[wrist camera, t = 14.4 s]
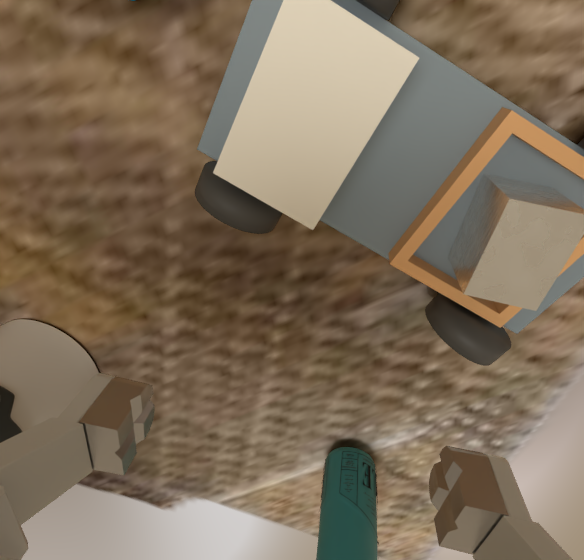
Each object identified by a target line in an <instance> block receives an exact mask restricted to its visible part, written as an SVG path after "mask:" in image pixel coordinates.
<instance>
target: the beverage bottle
mask: <svg viewBox="0 0 584 560" xmlns="http://www.w3.org/2000/svg"><path fill="white" fill-rule="evenodd" d="M325 460H326V462H325V463H324V464H325V465H324V466H325V468H324V469H325V471H324V472H323V474H324V475H323V476H324V478H323V480H322V481H323V482H322V484H323V485H322V486H323V488H322V490H321V491H322V494H321V496H322V497H321V498H322V499H321V500H322V502H321V507H320V509H321V512H320V527H319V537H318V547H317V558H316V560H377V538H378V537H377V517H378V516H377V514H376V496H377V487H376V477H377V475H376V473H377V471H376V473H375V470H376V469H375V464H374V462H373V459H372V458H371V456H370V455H368V454H367V453H366V452H364V451H362V450H360V449H357V448H351V447H341V448H337V449H335V450H333V451H331V452H330V453H329V454H328V456H327V458H326V459H325ZM324 469H323V470H324ZM377 507H378V506H377ZM378 545H379V542H378Z"/></svg>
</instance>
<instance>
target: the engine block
mask: <svg viewBox="0 0 584 560" xmlns="http://www.w3.org/2000/svg"><path fill="white" fill-rule="evenodd" d="M583 235H584V209H583V208H581V207H580V206H578V205H577V204H576V203H574V202H573V201H571V200H570V199H568V198H567V197H565V196H564V195H562V194H561V193H559V192H558V191H557V190H555V189H554V188H551V187H546V186H541V185H537V184H532V183H527V182H522V181H517V180H513V179H508V178H503V177H498V176H494V175H489V174H483V176H482V178H481V181H480V183H479V185H478V188H477V190H476V192H475V195H474V197H473V199H472V202H471V204H470V206H469V209H468V211H467V213H466V216H465V218H464V220H463V223H462V225H461V227H460V229H459V232H458V234H457V236H456V239H455V241H454V243H453V246H452V248H451V250H450V253H449V255H448V258H449V260H450V263H451V265H452V268H453V270H454V273H455V275H456V277H457V280H458V282H459V285H460V287H461V290H462V292H463V294H464V295H469V296H473V297H477V298H482V299H486V300H490V301H495V302H499V303H503V304H508V305H512V306H516V307H521V308H525V309H530V310H534V311H536V310H537V309H538V307H539V306H540V304H541V302H542V301H543V299H544V298H545V296H546V294H547V293H548V291H549V290H550V288H551V286H552V285H553V283H554V282H555V280H556V278H557V277H558V275H559V273H560V272H561V270H562V269H563V267H564V265H565V264H566V262H567V261H568V259H569V257H570V256H571V254H572V253H573V251H574V249H575V248H576V246H577V245H578V243H579V241H580V240H581V238H582V237H583Z"/></svg>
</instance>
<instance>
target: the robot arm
mask: <svg viewBox="0 0 584 560" xmlns="http://www.w3.org/2000/svg"><path fill="white" fill-rule="evenodd" d="M152 395H153V387H152V385H150V384H146V383H142V382H137V381H133V380H129V379H125V378H121V377H116V376H111V375H107V374H103V373H99V372H98V370H97V368H96V366H95V364H94V362H93V360H92V359H91V357H90V356H89V355H88V353H87V352H86V351H85V350H84V349H83V348H82V347H81V346H80V345H79V344H78V343H77V342H76V341H74V340H73V339H72V338H71V337H69V336H68V335H66V334H65V333H63V332H62V331H60V330H58V329H56V328H54V327H52V326H50V325H47V324H44V323H41V322H38V321H34V320H26V319H19V320H13V321H9V322H7V323H5V324H3V325H1V326H0V560H21V558H22V557H23V555H24V554H25V552H26V551H27V549H28V542H27V539H26V537H25V535H24V533H23V530H22V528H21V526H20V525H21V524H23V523H24V522H26V521H27V520H28V519H30V518H31V517H32V516H34V515H35V514H36V513H37V512H39V511H40V510H42V509H43V508H44V507H46V506H47V505H48V504H50V503H51V502H52V501H54V500H55V499H56V498H58V497H59V496H60V495H62V494H63V493H64V492H66V491H67V490H68V489H70V488H71V487H72V486H74V485H75V484H77V483H78V482H79V481H81V480H82V479H83V478H85V477H86V476H87V475H89V474H90V473H91V472H92V471H93V470H98V471H104V472H109V473H114V474H119V475H124V474H125V473H126V471H127V469H128V467H129V466H130V464H131V462H132V460H133V459H134V457H135V455H136V453H137V452H136V444H137V443H139V442H140V441H142V440H144V439H145V437H146V435H147V434H148V432H149V430H150V427H151V424H152V421H153V418H154V404H153V403H152V402H151V401H150V399H151V397H152ZM440 458H441V462H438V463H436V464H434V466H433V468H432V470H431V473H430V479H429V493H430V499H431V502H432V503H433V505H434V506H435V507H436V509H437V510H438V513H437V514H436V516H435V518H434V521H435V526H436V532H437V537H438V543H439V546H441V547H445V548H449V549H453V550H457V551H461V552H465V553H469V554H473V558H474V559H475V560H573V559H572V558H571V557H570V556H569V555H568V554H567V553H566V552H565V551H564V550H563V549H562V548H561V547H560V546H559V544H557V542H556V541H555V540H554V539H553V538H552V537H551V536H550V535H549V534H548V533H547V532H546V531H545V530H544V528H543V527H542V526H541V525H540V524H539V523H536V522H532V519H531V517H530V515H529V512H528V510H527V507H526V505H525V502H524V500H523V497H522V495H521V492H520V490H519V487H518V485H517V483H516V480H515V477H514V475H513V472H512V470H511V468H510V465H509V463H508V461H507V460H506V459H505V458H503V457H498V456H493V455H488V454H483V453H480V452H475V451H470V450H465V449H460V448H455V447H450V446H446V447H444V448H443V449H442V451H441V453H440ZM92 469H93V470H92Z"/></svg>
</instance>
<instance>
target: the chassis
mask: <svg viewBox="0 0 584 560" xmlns="http://www.w3.org/2000/svg"><path fill="white" fill-rule="evenodd" d="M398 2H399V0H252V2H251V5H250V8H249V10H248V13H247V16H246V18H245V21H244V24H243V27H242V29H241V32H240V35H239V37H238V40H237V43H236V45H235V48H234V51H233V54H232V56H231V59H230V62H229V64H228V67H227V70H226V73H225V75H224V78H223V81H222V83H221V86H220V89H219V91H218V94H217V97H216V100H215V102H214V105H213V108H212V110H211V113H210V116H209V118H208V121H207V124H206V127H205V129H204V132H203V135H202V137H201V140H200V143H199V146H198V148H197V150H199V151H201V152H203V153H204V154H206V155H208V156H209V157H211V158H213V159H215V160H216V161H211V162H208V163H206V164H205V166H204V168H203V170H202V173H201V176H200V178H199V181H198V183H197V186H196V188H195V196H196V198H197V200H198V202H199V203H200V205H201V206H202V207H203V208H204V209H205V210H206V211H207V212H208V213H210V214H211V215H212V216H214V217H215V218H217V219H218V220H220V221H221V222H223V223H225V224H227V225H229V226H231V227H233V228H236V229H239V230H242V231H245V232H250V233H257V234H263V233H268V232H270V231H272V230H273V229H274V228H275V226H276V224H277V222H278V220H279V218H280V217H281V215H282V213H284V214H285V215H287V216H289V217H291V218H292V219H294V220H296V221H298V222H299V223H301V224H303V225H305V226H306V227H308V228H310V229H312V230H313V229H314V228H315V226H316V225H317V223H318V221H319V220H320V221H322V222H324V223H326V224H327V225H329V226H331V227H333V228H334V229H336V230H338V231H339V232H341V233H343V234H345V235H346V236H348V237H350V238H352V239H353V240H355V241H357V242H359V243H360V244H362V245H364V246H365V247H367V248H369V249H371V250H372V251H374V252H376V253H378V254H379V255H381V256H383V257H385V258H386V259H388V260H389V264H390V265H392V266H394V267H396V268H397V269H399V270H401V271H403V272H404V273H406V274H408V275H409V276H411V277H413V278H415V279H416V280H418V281H420V282H422V283H423V284H425V285H427V286H429V287H430V288H432V289H434V290H436V291H437V292H439V293H438V295H437V296H436V297H435V298H434V299H433V300H432V301H431V302H430V303H429V304H428V305H427V306H426V309H425V312H426V316H427V319H428V321H429V323H430V324H431V326H432V327H433V329H434V330H435V331H436V333H437V334H438V335H439V336H440V337H441V338H442V339H443V340H444V341H445V342H446V343H447V344H448V345H449V346H450V347H451V348H452V349H453V350H455V351H456V352H457V353H459V354H460V355H462V356H463V357H465V358H466V359H468V360H470V361H472V362H474V363H477V364H480V365H490V364H492V363H493V362H494V361H496V360H497V359H498V358H499V357H500V356H501V355H503V354H504V353H505V352H506V351H507V350H509V349H510V347H511V341H510V338H509V336H508V334H507V333H506V331H505V330H504V328H503V327H502V326H504V327H506V328H508V329H509V330H511V331H513V332H515V333H516V334H517V333H519V332H520V331H521V330H522V329H523V328H524V327H526V326H527V325H528V324H529V323H530V322H531V321H533V320H534V319H535V318H536V317H537V316H538V315H540V314H541V313H542V312H543V311H544V310H545V309H547V308H548V307H549V306H550V305H551V304H553V303H554V302H555V301H556V300H557V299H558V298H560V297H561V296H562V295H563V294H564V293H565V292H567V291H568V290H569V289H570V288H571V287H572V286H574V285H575V284H576V283H577V282H578V281H580V280H581V279H582V278H583V277H584V235H583V237H582V238H581V240H580V241H579V243H578V245H577V246H576V248H575V249H574V251H573V253H572V254H571V256H570V257H569V259H568V261H567V262H566V264H565V265H564V267H563V269H562V270H561V272H560V273H559V275H558V277H557V278H556V280H555V282H554V283H553V285H552V286H551V288H550V290H549V291H548V293H547V294H546V296H545V298H544V299H543V301H542V302H541V304H540V306H539V307H538V309H537V310H536V311H534V310H530V309H525V308H521V307H516V306H512V305H508V304H503V303H499V302H495V301H490V300H486V299H482V298H477V297H473V296H469V295H464V294H463V292H462V290H461V287H460V285H459V282H458V280H457V277H456V275H455V273H454V270H453V268H452V265H451V263H450V260H449V258H448V255H449V253H450V250H451V248H452V246H453V243H454V241H455V239H456V236H457V234H458V232H459V229H460V227H461V225H462V223H463V220H464V218H465V216H466V213H467V211H468V209H469V206H470V204H471V202H472V199H473V197H474V195H475V192H476V190H477V188H478V185H479V183H480V181H481V178H482V176H483V174H489V175H494V176H498V177H503V178H508V179H513V180H517V181H522V182H527V183H532V184H537V185H541V186H546V187H551V188H554V189H555V190H557V191H558V192H559V193H561V194H562V195H564V196H565V197H567V198H568V199H570V200H571V201H573V202H574V203H576V204H577V205H578V206H580V207H581V208H583V209H584V138H583V139H582V140H581V141H580V142H579V143H578V144H577V145H576V144H575V143H573V142H571V141H570V140H568V139H567V138H565V137H564V136H562V135H561V134H559V133H558V132H556V131H555V130H553V129H552V128H550V127H549V126H547V125H545V124H544V123H542V122H541V121H539V120H538V119H536V118H535V117H533V116H532V115H530V114H529V113H527V112H526V111H524V110H523V109H521V108H519V107H518V106H516V105H515V104H513V103H512V102H510V101H509V100H507V99H506V98H504V97H503V96H501V95H500V94H498V93H497V92H495V91H493V90H492V89H490V88H489V87H487V86H486V85H484V84H483V83H481V82H480V81H478V80H477V79H475V78H474V77H472V76H470V75H469V74H467V73H466V72H464V71H463V70H461V69H460V68H458V67H457V66H455V65H454V64H452V63H451V62H449V61H448V60H446V59H444V58H443V57H441V56H440V55H438V54H437V53H435V52H434V51H432V50H431V49H429V48H428V47H426V46H425V45H423V44H422V43H420V42H418V41H417V40H415V39H414V38H412V37H411V36H409V35H408V34H406V33H405V32H403V31H402V30H400V29H399V28H397V27H396V26H394V25H392V24H391V23H389V22H388V21H386V20H389V18H390V17H391V15H392V13H393V11H394V9H395V8H396V6H397V4H398ZM385 19H386V20H385Z"/></svg>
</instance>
